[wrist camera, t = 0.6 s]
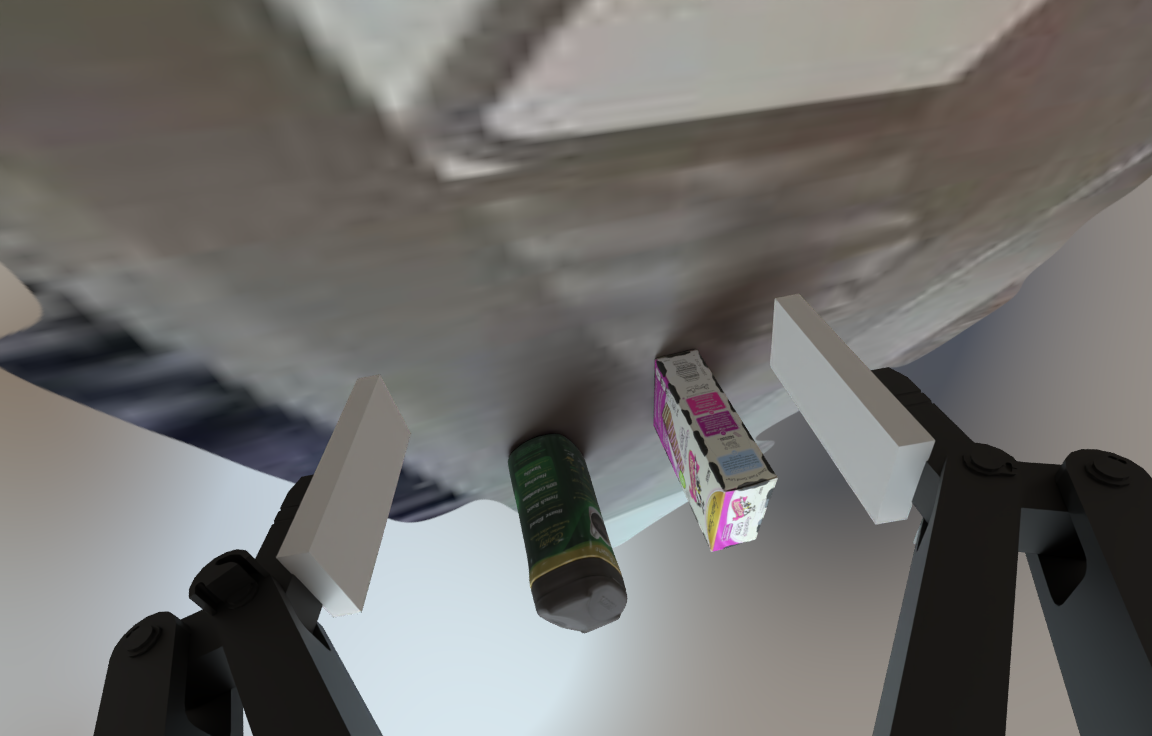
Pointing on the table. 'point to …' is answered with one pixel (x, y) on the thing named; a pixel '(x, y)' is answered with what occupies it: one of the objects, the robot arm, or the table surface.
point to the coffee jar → (565, 536)
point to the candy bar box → (710, 451)
